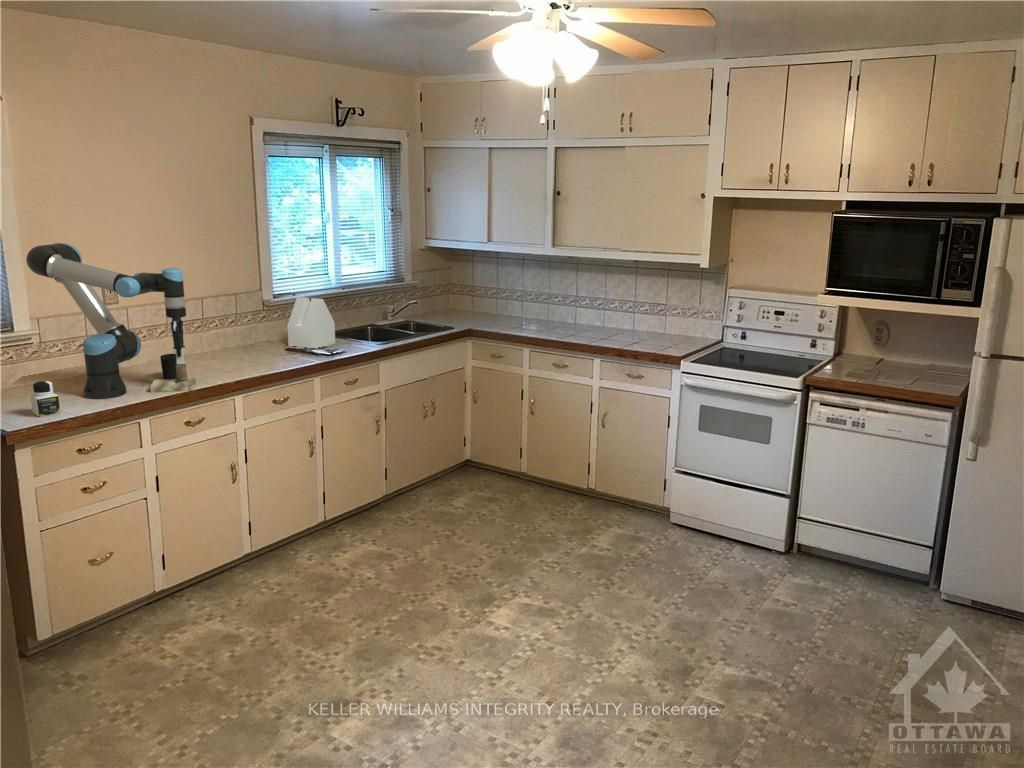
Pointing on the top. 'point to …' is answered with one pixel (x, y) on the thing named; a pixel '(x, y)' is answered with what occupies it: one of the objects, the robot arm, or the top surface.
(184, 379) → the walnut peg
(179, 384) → the mottled green flat block
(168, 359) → the pen holder
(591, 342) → the top surface
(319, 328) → the white notched tapered block
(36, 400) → the medicine bottle
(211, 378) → the top surface
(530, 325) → the top surface
